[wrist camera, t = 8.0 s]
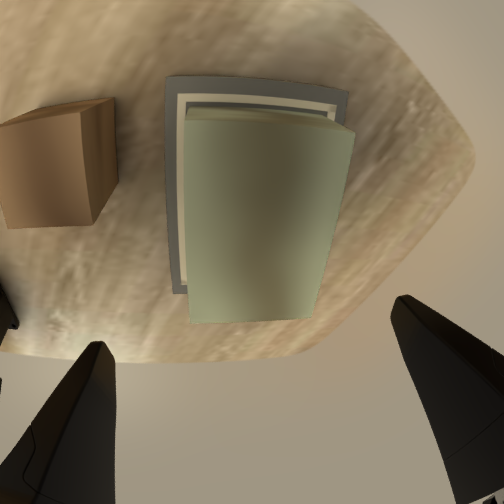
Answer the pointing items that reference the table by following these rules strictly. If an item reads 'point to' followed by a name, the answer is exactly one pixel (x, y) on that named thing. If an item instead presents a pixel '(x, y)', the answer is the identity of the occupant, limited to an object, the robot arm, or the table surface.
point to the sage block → (259, 210)
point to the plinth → (225, 95)
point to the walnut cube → (58, 164)
